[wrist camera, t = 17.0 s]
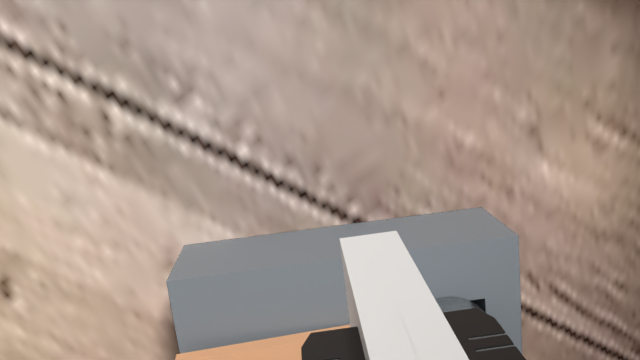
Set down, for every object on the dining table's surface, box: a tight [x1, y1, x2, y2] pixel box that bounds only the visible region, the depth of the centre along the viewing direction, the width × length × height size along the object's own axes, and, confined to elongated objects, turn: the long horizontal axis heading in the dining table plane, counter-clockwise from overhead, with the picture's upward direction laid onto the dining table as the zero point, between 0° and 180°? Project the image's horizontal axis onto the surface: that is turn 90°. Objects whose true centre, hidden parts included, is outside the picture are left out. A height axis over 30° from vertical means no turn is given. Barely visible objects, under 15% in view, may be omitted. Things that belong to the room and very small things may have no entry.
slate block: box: [166, 207, 522, 354], centre depth 36 cm, size 20×12×6 cm, turn 96°
